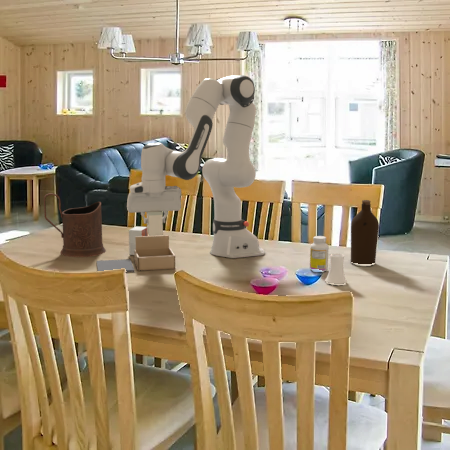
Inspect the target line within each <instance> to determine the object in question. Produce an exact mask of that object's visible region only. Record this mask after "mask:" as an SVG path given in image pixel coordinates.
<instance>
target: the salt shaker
mask: <svg viewBox="0 0 450 450" xmlns="http://www.w3.org/2000/svg"><path fill="white" fill-rule="evenodd" d="M329 256H330V263H329V264H330V265H329V266H330V267H329V271H328V273H327V276H326V278H324V282H325V281H326V282H328V283H334V284H344V283H346V282H347V283H348V280H347V279H346V276H345V271H344V260H345V254H342V253H331V254H329Z"/></svg>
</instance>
